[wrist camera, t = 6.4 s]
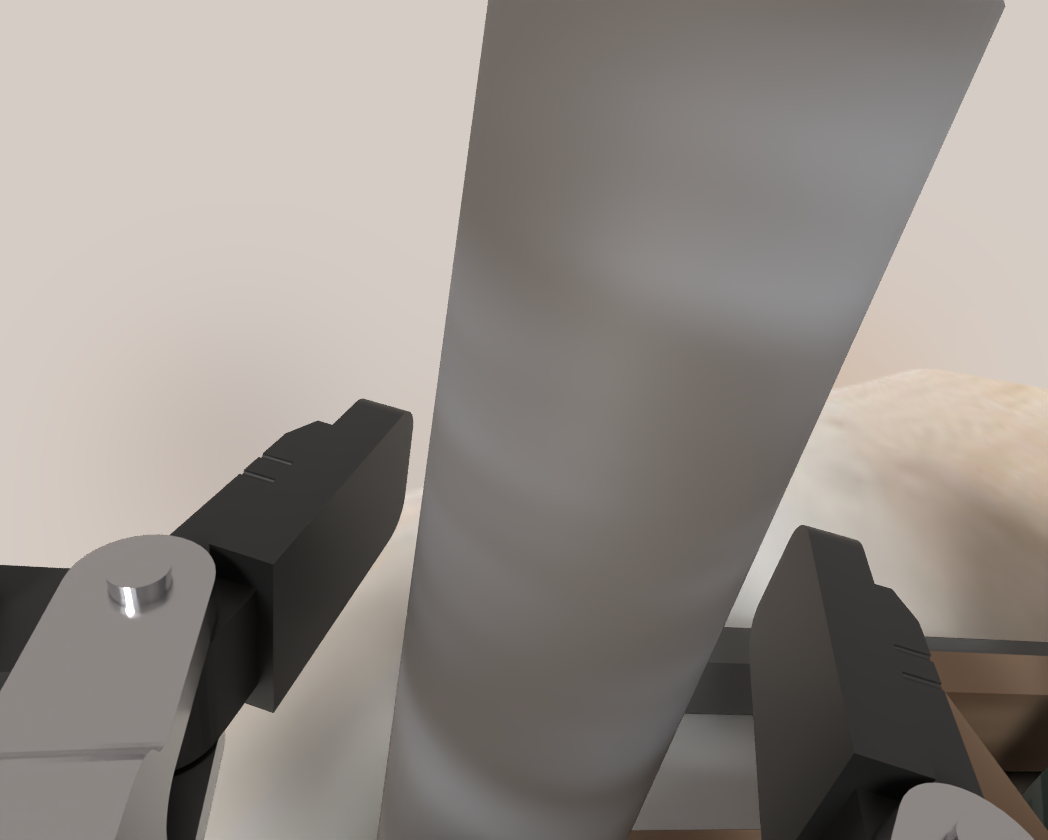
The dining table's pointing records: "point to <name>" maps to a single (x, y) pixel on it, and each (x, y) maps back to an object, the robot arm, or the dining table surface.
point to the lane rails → (731, 678)
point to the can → (1039, 797)
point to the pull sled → (653, 386)
